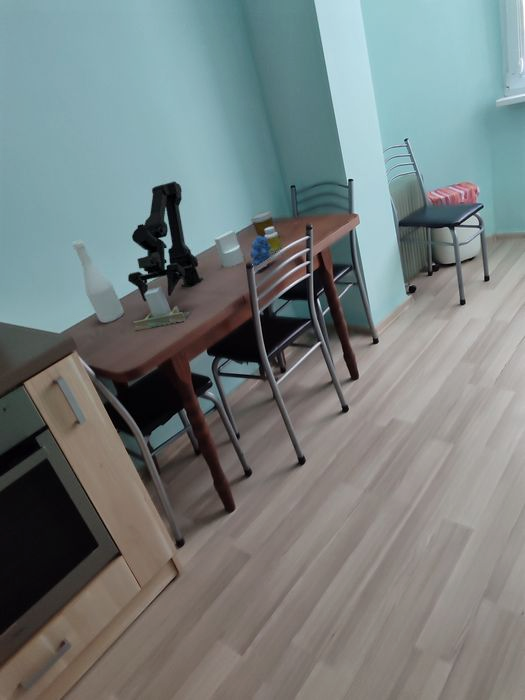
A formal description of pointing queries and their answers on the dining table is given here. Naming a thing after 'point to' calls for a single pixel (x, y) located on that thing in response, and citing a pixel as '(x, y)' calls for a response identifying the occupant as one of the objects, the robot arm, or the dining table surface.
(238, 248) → the cylinder with rectangular tab
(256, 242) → the grapes
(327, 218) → the dining table surface
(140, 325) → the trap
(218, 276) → the dining table surface
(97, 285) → the wine bottle
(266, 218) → the disposable coffee cup
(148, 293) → the grey block
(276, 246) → the supplement bottle
